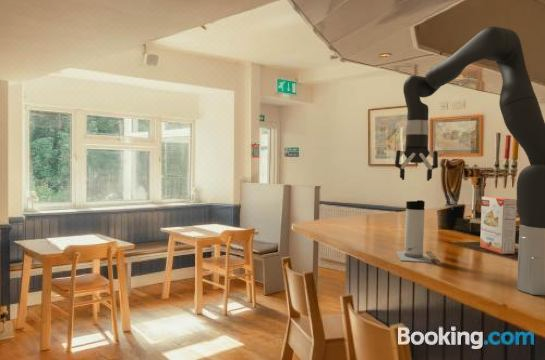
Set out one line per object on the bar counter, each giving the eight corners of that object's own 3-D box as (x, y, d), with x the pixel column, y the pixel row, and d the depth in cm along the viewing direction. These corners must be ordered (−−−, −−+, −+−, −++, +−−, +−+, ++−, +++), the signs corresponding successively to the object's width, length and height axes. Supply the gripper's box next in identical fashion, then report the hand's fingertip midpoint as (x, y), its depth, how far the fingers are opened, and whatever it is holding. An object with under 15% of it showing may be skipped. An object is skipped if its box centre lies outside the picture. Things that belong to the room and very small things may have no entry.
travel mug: (411, 258, 157) (413, 200, 156) (400, 254, 163) (402, 198, 163) (427, 257, 159) (429, 200, 158) (416, 254, 165) (418, 198, 164)
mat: (431, 262, 153) (431, 261, 152) (400, 261, 154) (400, 259, 154) (424, 253, 168) (424, 252, 168) (396, 252, 170) (396, 251, 170)
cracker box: (478, 247, 185) (481, 195, 184) (492, 247, 186) (494, 196, 185) (500, 254, 171) (503, 198, 170) (515, 254, 172) (517, 198, 171)
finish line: (442, 265, 149) (442, 263, 149) (437, 265, 149) (437, 263, 149) (430, 252, 171) (430, 251, 171) (426, 252, 171) (426, 250, 171)
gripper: (397, 133, 157) (395, 180, 158) (440, 133, 155) (438, 181, 155) (395, 134, 165) (393, 179, 165) (436, 134, 162) (434, 180, 163)
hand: (415, 180), depth 160 cm, fingers open, 8 cm apart
